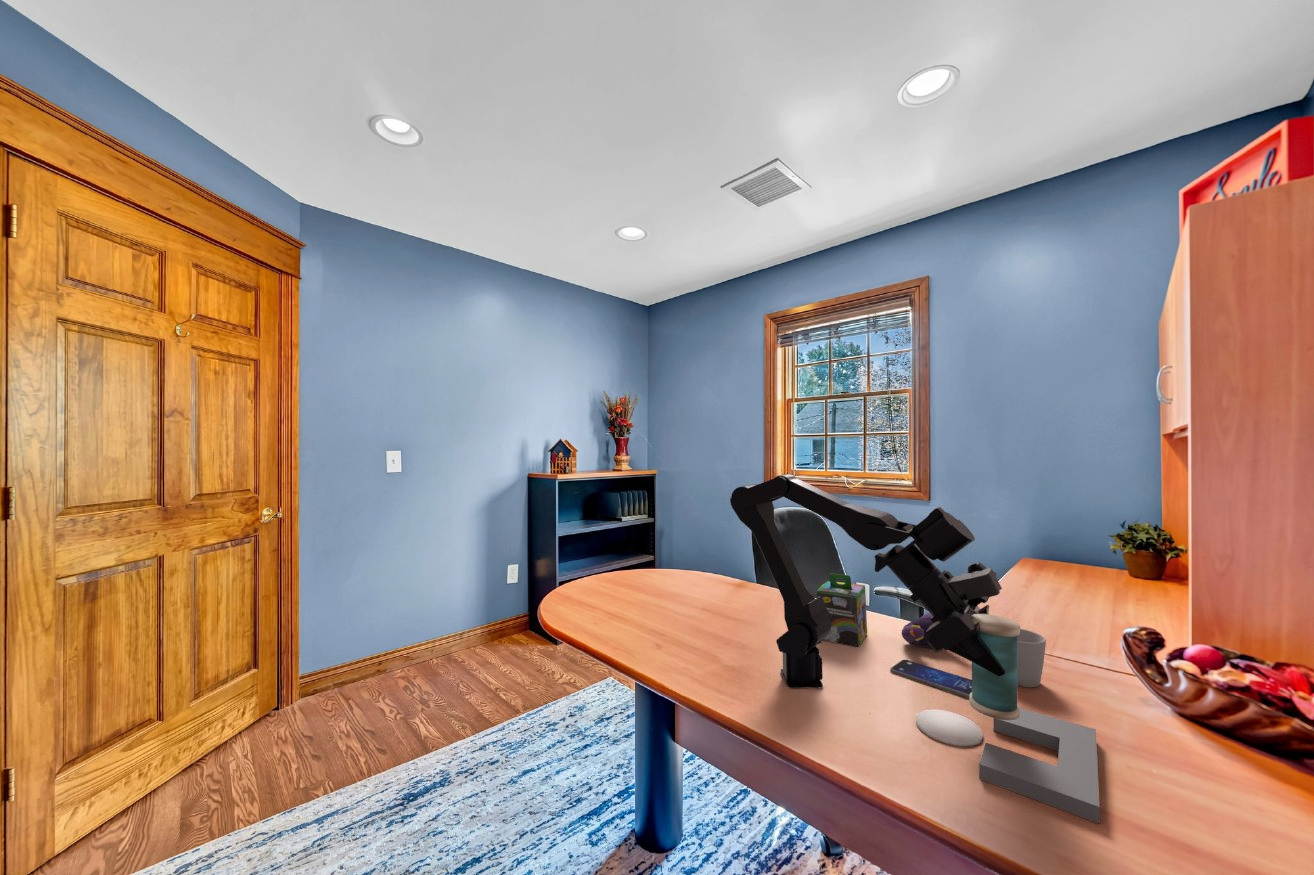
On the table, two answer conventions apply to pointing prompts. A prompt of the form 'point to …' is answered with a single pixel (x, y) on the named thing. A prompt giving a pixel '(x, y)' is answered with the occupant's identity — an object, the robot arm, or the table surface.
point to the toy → (917, 631)
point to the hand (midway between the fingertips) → (1005, 667)
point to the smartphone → (933, 677)
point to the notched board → (1042, 781)
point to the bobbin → (987, 688)
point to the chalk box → (845, 610)
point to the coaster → (949, 727)
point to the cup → (1030, 658)
